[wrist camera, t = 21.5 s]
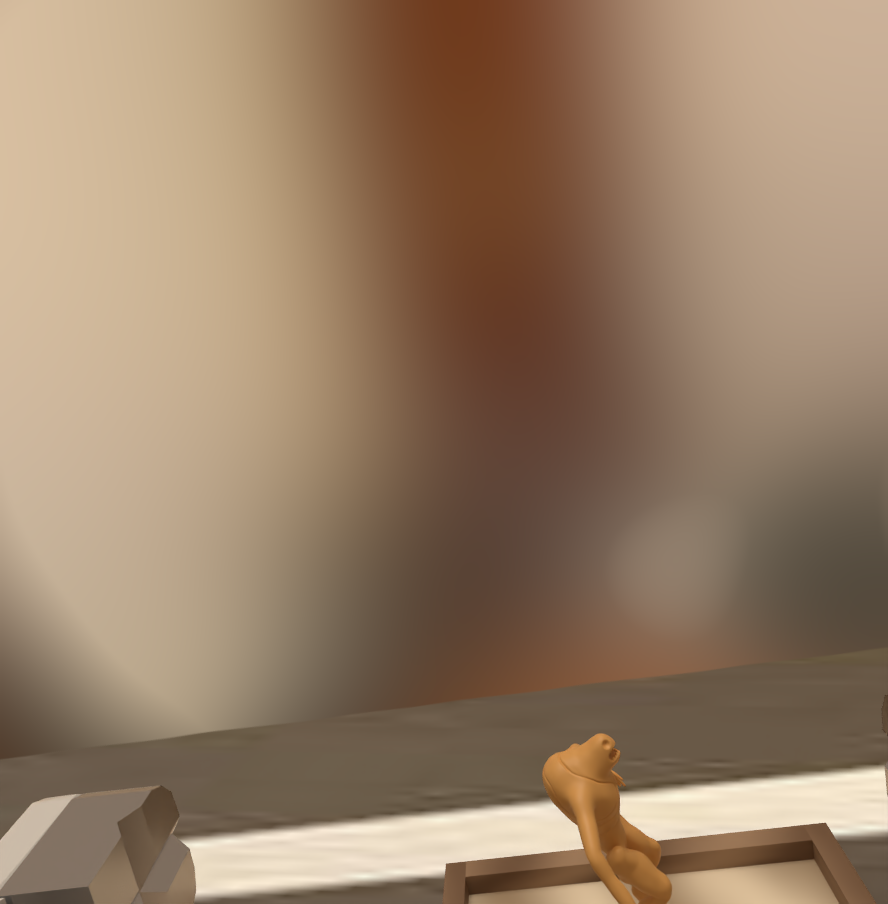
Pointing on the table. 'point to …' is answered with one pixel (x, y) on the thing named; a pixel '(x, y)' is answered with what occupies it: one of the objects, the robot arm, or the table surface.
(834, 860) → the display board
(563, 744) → the table surface
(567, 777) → the figurine
